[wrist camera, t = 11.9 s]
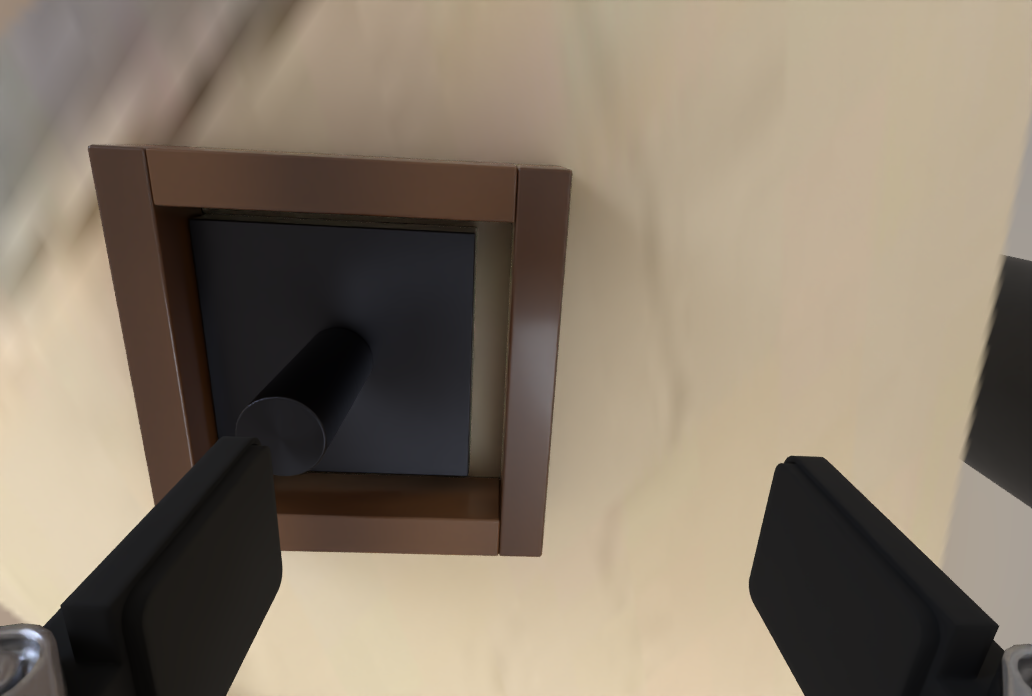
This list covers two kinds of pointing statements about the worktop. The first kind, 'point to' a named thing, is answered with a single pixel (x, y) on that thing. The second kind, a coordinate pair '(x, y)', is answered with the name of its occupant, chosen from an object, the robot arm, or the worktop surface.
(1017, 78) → the worktop surface
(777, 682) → the worktop surface
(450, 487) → the walnut frame
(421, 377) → the peg stand
